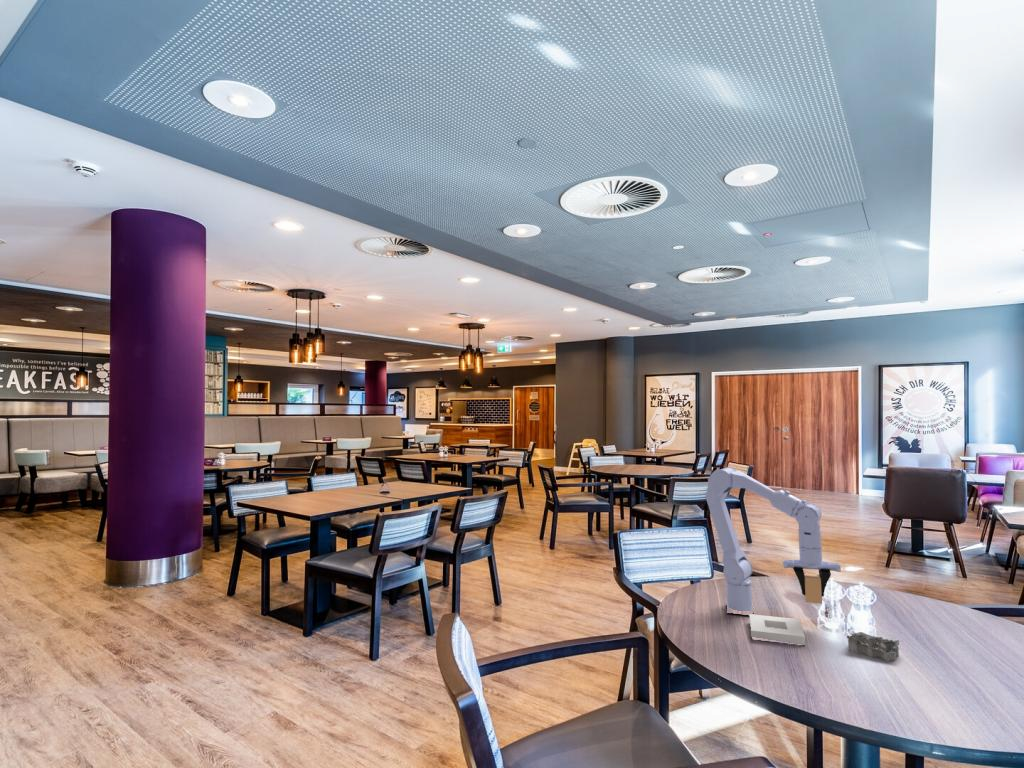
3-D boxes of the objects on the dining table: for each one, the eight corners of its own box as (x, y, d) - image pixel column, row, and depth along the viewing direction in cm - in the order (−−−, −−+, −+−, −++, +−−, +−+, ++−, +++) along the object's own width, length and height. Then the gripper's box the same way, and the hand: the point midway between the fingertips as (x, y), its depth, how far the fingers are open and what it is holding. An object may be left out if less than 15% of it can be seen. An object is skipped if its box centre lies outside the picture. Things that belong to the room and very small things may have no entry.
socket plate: (749, 622, 161) (749, 614, 162) (799, 628, 157) (798, 619, 157) (751, 639, 149) (751, 630, 149) (805, 646, 145) (804, 636, 145)
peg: (804, 597, 161) (803, 573, 161) (819, 599, 159) (818, 574, 160) (806, 602, 157) (804, 577, 157) (822, 603, 156) (820, 578, 156)
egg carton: (845, 651, 142) (844, 635, 142) (854, 642, 147) (853, 627, 147) (894, 664, 134) (892, 647, 134) (902, 655, 139) (901, 638, 139)
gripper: (783, 548, 158) (786, 596, 157) (841, 551, 153) (844, 601, 152) (781, 542, 164) (783, 589, 164) (836, 546, 159) (839, 593, 158)
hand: (812, 594), depth 158 cm, fingers closed on peg, 4 cm apart
